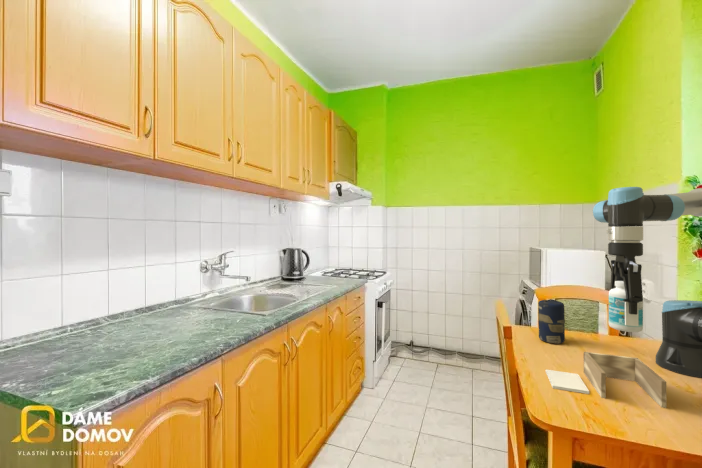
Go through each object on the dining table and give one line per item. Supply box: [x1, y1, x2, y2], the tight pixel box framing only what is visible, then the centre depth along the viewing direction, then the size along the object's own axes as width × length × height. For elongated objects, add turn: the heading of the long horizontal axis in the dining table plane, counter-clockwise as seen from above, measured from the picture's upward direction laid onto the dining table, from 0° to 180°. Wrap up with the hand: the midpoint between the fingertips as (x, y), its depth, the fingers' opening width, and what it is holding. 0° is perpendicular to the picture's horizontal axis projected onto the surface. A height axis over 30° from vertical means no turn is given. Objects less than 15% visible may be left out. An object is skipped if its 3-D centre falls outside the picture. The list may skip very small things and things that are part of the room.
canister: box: [537, 298, 566, 344], centre depth 134 cm, size 10×10×18 cm
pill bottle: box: [608, 281, 644, 333], centre depth 90 cm, size 8×7×14 cm
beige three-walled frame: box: [583, 351, 667, 409], centre depth 93 cm, size 14×17×7 cm
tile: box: [545, 369, 590, 395], centre depth 98 cm, size 9×12×1 cm
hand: (625, 321), depth 90 cm, fingers closed on pill bottle, 7 cm apart
